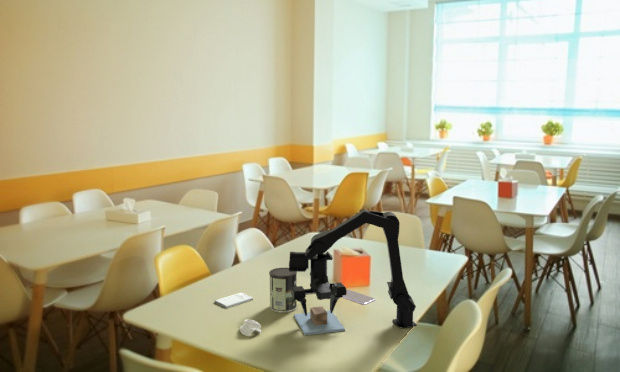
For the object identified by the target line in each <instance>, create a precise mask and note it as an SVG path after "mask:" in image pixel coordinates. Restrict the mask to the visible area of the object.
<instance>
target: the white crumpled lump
mask: <svg viewBox="0 0 620 372" xmlns="http://www.w3.org/2000/svg"><path fill="white" fill-rule="evenodd" d="M243 321H244V322H243V324H241V326H240V327H239V332H240V333H241V334H242V335H243V336H245V337H250V336H251V334H253V333H254V332H258V333H262V330H261V327H262V325H261V324H260V323H259V322H258V321H257V320H253V319H245V320H243Z"/></svg>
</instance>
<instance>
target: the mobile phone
mask: <svg viewBox="0 0 620 372" xmlns="http://www.w3.org/2000/svg"><path fill="white" fill-rule="evenodd" d="M346 290H347V294H346V295H343V297H342V298H343V299H346V300H349V301H352V302H354V303H357V304H360V305H363V306H365V305H368V304H370V303H373V302H375V301H376V298H374V297H372V296H369V295H366V294H363V293H360V292H356V291H353V290H351V289H346Z"/></svg>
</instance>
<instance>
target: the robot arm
mask: <svg viewBox="0 0 620 372" xmlns="http://www.w3.org/2000/svg"><path fill="white" fill-rule="evenodd" d="M366 224H369V225H372V226H375V227H377V228H381V229H382V230H383V234H384V236H385V239H386V246H387V253H388V259H389V262H388V263H389V269H390V276H391V277H390V281H387V282H386V285H387V287H388V291H387V293H388V295H389V298H390V300H392V302H393V303H394V305H396V318H393V319H392V322H393V323H394V324H395V325H396V326H397V327H398V328H399V329H402V328H403V329H404V328H413V327H417V326H418V325H417V323H416V322H415V321H414V312H415V310H416V307H417V306H416V304H415V302H414V300H413V298H412V296H411V295H410V294H409V292H408V287H407V285H406V283H405V280H404V274H403V268H402V261H401V253H400V252H401V251H400V245H399V236H400V224H401V223H400V220H399V218H398V217H397V215H396V214H395V213H394V212H392V211H385V212H383V211H382V212H381V211H375V210H368V209H362V210H360V211H359V212H358V213H356V214H355V215H353V216H351V217H349V218H348V219H346V220H345V221H343V222H341V223H340V224H337V226H334V227H333V228H331V229H328V230H323V231H322V232H319V233H316V234H314V235H313V236H312V237H311V239H310V243H309V244H308V247H307V248H305V250H304V251H303V252H302V251H301V252H300V251H289V261H288V268H289V272H297V273H299V272H301V273H305V272H306V271H307V270H310V272H309V276H310V283H309V287H310V288H304V287H303V286H302V285H299V286H297V287H292V288H291V295H292V297H293V298H294V300H297V302H300V305H301V309H302V311H303V313H304V314H305V316H307V313H308V310H307V299H306V297H307V295H316V299H317V300H318V301H322V300H329V310H330V313H332V312H333V313H334V310H335V307H336V305H337V302H338V300H339V299H342V298H343V295H346V294H347V290H348V289H347V287H346V286H345V285H344V284H343V283H342V282H334V283H333V282H329V276H328V261H332V260H333V258H334V257H333V255H332V254H331V253H330V252H329V249H331V248H332V247H333V245H334V244H336V243H337V242H338V240H339V241H340V240H341V239H342V238H344V237H346V236H347V235H349V234H350V233H352V232H354V231H355V230H357V229H359V228H361V227H362V226H364V225H366ZM309 262H310V264H309ZM309 265H310V267H309ZM309 268H310V269H309Z"/></svg>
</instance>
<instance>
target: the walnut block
mask: <svg viewBox="0 0 620 372" xmlns="http://www.w3.org/2000/svg"><path fill="white" fill-rule="evenodd" d="M309 311H310V312H309V313H310V319H311V320H312V322H313V323H314V325H322V324H327V312H326V311H327V310H326V309H325V308H324V307H323V306H313V307H310V308H309Z"/></svg>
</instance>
